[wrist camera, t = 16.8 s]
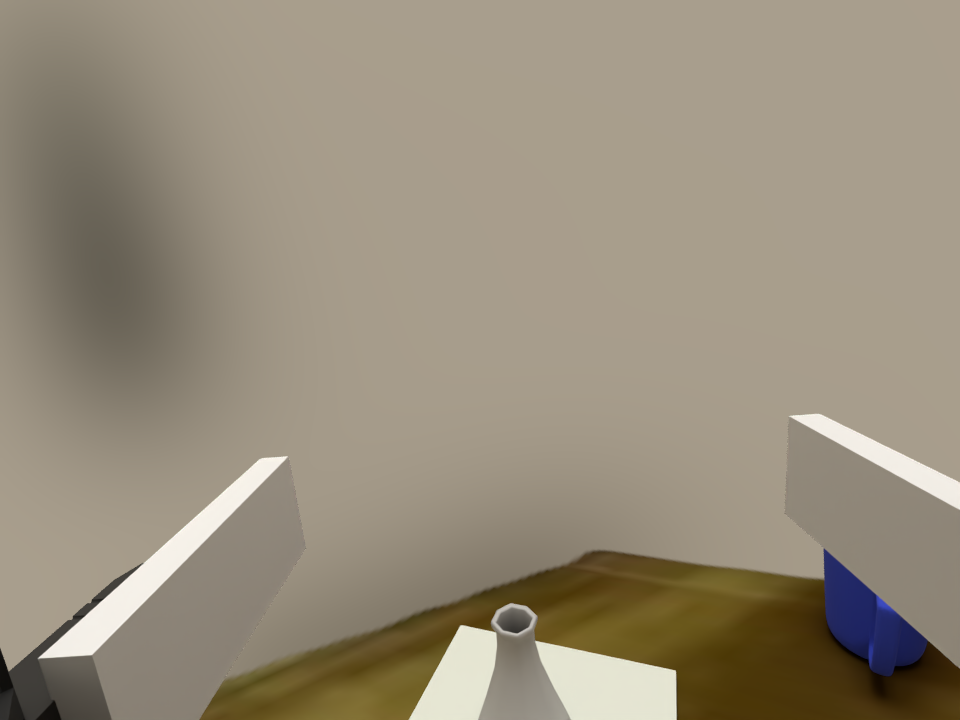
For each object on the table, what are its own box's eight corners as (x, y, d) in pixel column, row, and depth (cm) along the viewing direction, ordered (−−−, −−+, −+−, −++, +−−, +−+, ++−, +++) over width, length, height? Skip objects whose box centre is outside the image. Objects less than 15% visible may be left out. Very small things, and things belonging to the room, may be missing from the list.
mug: (815, 688, 40) (823, 580, 38) (817, 599, 50) (823, 509, 48) (953, 737, 35) (970, 617, 33) (925, 628, 45) (937, 529, 43)
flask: (513, 676, 43) (505, 574, 41) (588, 722, 38) (583, 609, 36) (456, 741, 37) (443, 627, 35) (535, 803, 33) (526, 677, 31)
